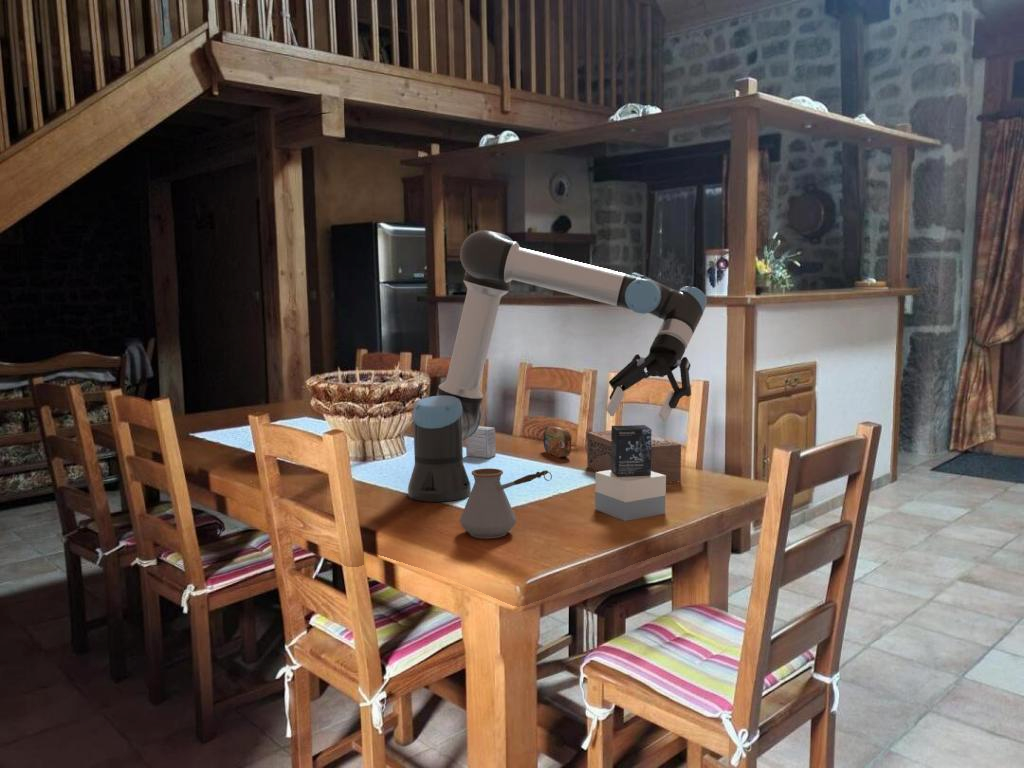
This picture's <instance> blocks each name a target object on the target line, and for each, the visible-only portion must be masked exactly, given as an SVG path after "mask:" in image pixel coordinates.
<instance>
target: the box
mask: <svg viewBox="0 0 1024 768" xmlns="http://www.w3.org/2000/svg"><path fill="white" fill-rule="evenodd" d="M611 431H612V432H611V472H612V473H613V474H614V475H615V476H616V477H620V476H650V475H651V435H652V432H653V431H652V428H650V427H649V426H647V425H646V424H638V425H637V424H632V425H631V424H630V425H611Z"/></svg>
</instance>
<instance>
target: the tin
mask: <svg viewBox="0 0 1024 768" xmlns="http://www.w3.org/2000/svg"><path fill="white" fill-rule="evenodd" d="M542 439H543V442H542V443H543V447H544V448H543V449H544V450H545V452H546V453H547V454H548V453H549V454H548V455H551V454H552V455H551V456H553V455H554V456H553V457H556V458H558V457H559V458H567V457H568V456H570V454H571V452H572V435H571V433H570V431H569V430H568V429H566V428H561V427H560V426H559V427H558V426H554V425H553V426H551V425H550V426H549V425H548V426H546V428H545V429H544V431H543V437H542Z"/></svg>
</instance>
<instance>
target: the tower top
mask: <svg viewBox="0 0 1024 768" xmlns="http://www.w3.org/2000/svg"><path fill="white" fill-rule="evenodd" d="M666 488H667V484H666V475H663V474H659V473H656V472H652V471H651V475H650V476H620V477H616V476H615V475H614V474H613V473H612V472H611V470H607V471H600V472H597V471H595V492H598V493H601V494H603V495H606V496H609V497H612V498H615V499H618V500H620V501H623V502H631V501H637V500H642V499H648V498H654V497H660V496H665V497H666V496H667V490H666Z"/></svg>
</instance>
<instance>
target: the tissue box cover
mask: <svg viewBox="0 0 1024 768" xmlns="http://www.w3.org/2000/svg"><path fill="white" fill-rule="evenodd" d="M611 430H612V429H611ZM611 430H610V429H609V430H599V431H587V434H586V438H587V440H586V441H587V443H586V445H587V449H586V451H587V465H586V466H589V467H591V468H593V469H595V470H598V471H599V472H600V471H607V470H611V432H612V431H611ZM589 467H588V468H589ZM591 468H590V469H591ZM593 469H592V470H593ZM595 470H594V471H595ZM651 471H652V472H656V473H659V474H663V475H666V483H667V484H671V483H670V482H677V483H679V482H678V481H681V479H682V476H681V475H682V474H681V473H682V444H681V443H678V442H674V441H672V440H669V439H666V438H663V437H661V436H657V435H654V434H651ZM681 482H682V481H681Z"/></svg>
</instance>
